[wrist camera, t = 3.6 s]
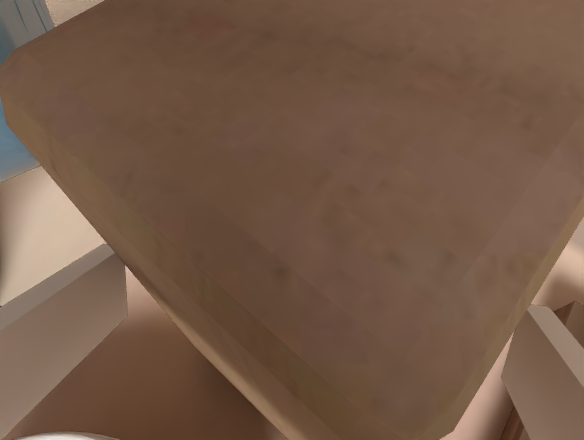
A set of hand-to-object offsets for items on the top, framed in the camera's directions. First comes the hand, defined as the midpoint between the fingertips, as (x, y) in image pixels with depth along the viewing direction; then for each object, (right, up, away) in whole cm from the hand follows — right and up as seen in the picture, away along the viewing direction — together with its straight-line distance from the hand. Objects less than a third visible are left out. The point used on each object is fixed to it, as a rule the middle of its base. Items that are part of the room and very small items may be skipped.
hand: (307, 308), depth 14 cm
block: (0, -4, +11) cm, 12 cm away
